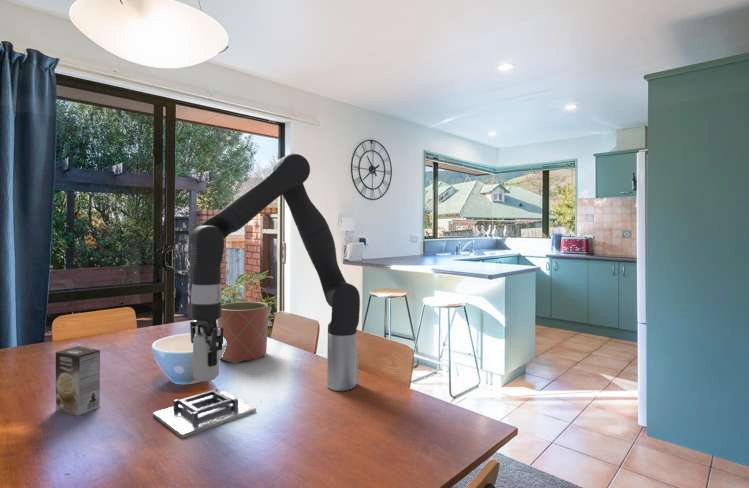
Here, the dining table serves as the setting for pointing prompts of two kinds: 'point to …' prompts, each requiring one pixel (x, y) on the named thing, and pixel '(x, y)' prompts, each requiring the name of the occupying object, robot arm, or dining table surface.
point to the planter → (244, 330)
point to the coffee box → (77, 380)
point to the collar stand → (202, 412)
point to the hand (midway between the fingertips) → (205, 362)
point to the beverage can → (203, 360)
